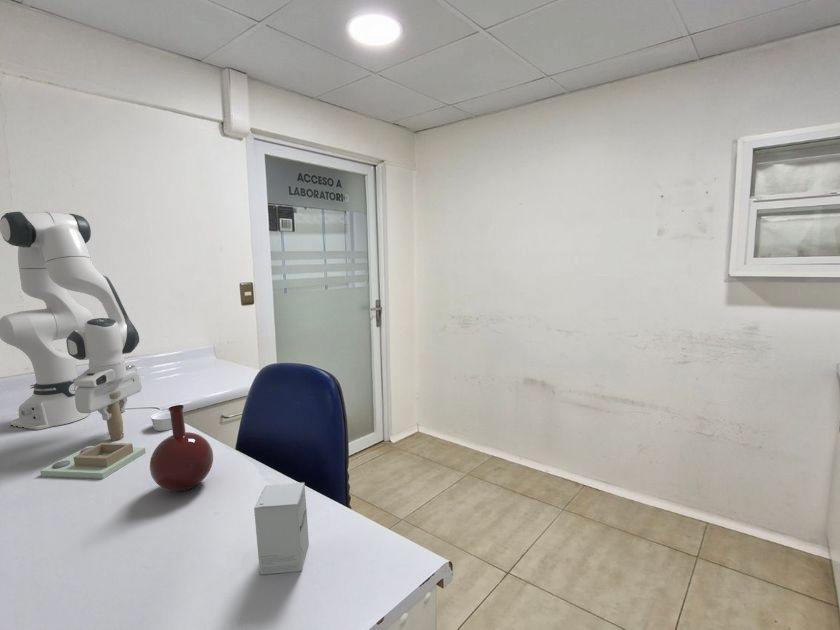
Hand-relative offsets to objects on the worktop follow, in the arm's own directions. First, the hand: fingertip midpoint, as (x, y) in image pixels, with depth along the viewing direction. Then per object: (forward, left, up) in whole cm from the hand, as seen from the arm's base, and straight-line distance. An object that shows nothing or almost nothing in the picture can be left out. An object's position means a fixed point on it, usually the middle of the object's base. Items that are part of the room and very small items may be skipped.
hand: (114, 416), depth 130 cm
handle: (0, 0, -8) cm, 8 cm away
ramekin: (+9, +10, -8) cm, 16 cm away
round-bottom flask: (+41, -24, -8) cm, 48 cm away
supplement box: (+76, -45, -8) cm, 88 cm away
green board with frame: (+8, -15, -7) cm, 18 cm away
